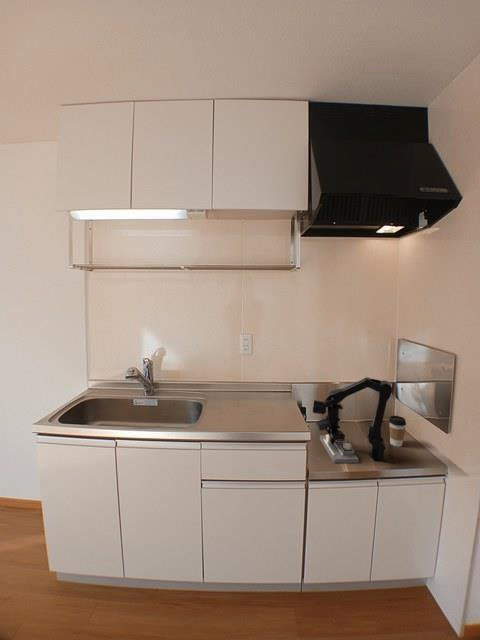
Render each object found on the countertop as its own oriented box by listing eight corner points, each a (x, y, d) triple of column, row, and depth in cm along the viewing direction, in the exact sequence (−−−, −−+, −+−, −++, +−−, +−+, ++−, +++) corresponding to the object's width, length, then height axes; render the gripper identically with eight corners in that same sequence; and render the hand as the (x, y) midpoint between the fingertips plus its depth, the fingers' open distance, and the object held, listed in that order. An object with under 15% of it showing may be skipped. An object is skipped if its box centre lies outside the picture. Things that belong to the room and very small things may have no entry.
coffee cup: (387, 445, 164) (388, 419, 163) (387, 438, 172) (389, 413, 170) (404, 449, 160) (406, 422, 159) (404, 442, 168) (406, 416, 166)
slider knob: (333, 444, 161) (334, 438, 161) (328, 444, 161) (328, 438, 161) (331, 440, 165) (331, 434, 165) (325, 440, 165) (326, 434, 165)
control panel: (358, 462, 148) (358, 456, 148) (334, 463, 148) (334, 456, 147) (340, 438, 172) (340, 432, 172) (319, 438, 172) (319, 433, 171)
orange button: (344, 440, 163) (345, 436, 162) (337, 440, 162) (337, 436, 162) (342, 436, 167) (342, 433, 166) (334, 436, 166) (335, 433, 166)
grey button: (352, 450, 153) (352, 446, 152) (344, 450, 152) (344, 446, 152) (349, 446, 157) (349, 442, 156) (341, 446, 156) (341, 442, 156)
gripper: (312, 408, 167) (312, 435, 168) (323, 423, 148) (322, 453, 150) (332, 408, 167) (331, 435, 169) (345, 423, 149) (344, 453, 150)
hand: (332, 443), depth 160 cm, fingers closed
